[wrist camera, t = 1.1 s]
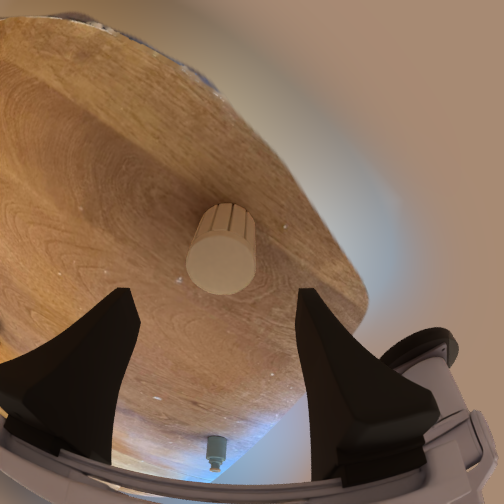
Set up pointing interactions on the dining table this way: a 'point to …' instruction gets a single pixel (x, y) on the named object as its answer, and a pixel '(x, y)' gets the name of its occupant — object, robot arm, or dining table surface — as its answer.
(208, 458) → the bottle
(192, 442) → the dining table surface
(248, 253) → the fluted tan knob
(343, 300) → the dining table surface
